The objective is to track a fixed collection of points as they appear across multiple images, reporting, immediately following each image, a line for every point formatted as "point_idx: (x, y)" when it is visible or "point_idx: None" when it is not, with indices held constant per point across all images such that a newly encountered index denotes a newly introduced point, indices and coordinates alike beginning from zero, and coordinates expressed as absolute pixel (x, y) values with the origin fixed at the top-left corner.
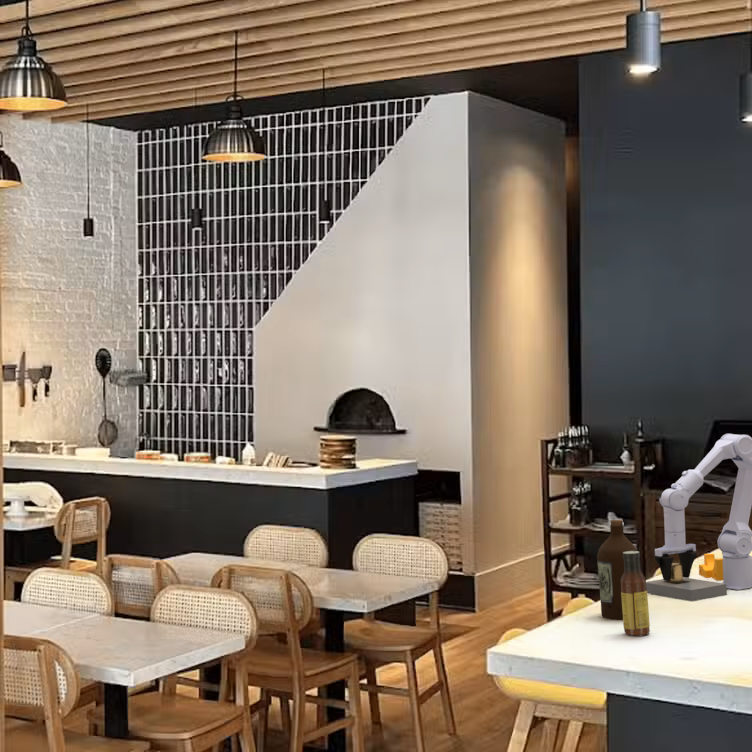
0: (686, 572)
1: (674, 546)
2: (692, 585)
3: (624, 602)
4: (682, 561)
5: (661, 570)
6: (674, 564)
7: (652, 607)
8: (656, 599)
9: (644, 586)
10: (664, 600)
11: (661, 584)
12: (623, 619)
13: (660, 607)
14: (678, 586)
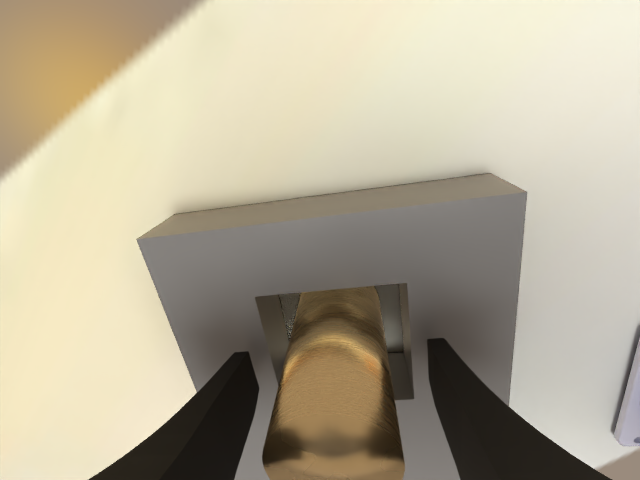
0: (438, 403)
1: None
2: None
3: None
4: (474, 457)
5: (191, 407)
6: (316, 470)
7: (69, 460)
8: (150, 375)
9: None
10: (171, 405)
11: (202, 361)
12: None
13: (96, 473)
14: (251, 444)
